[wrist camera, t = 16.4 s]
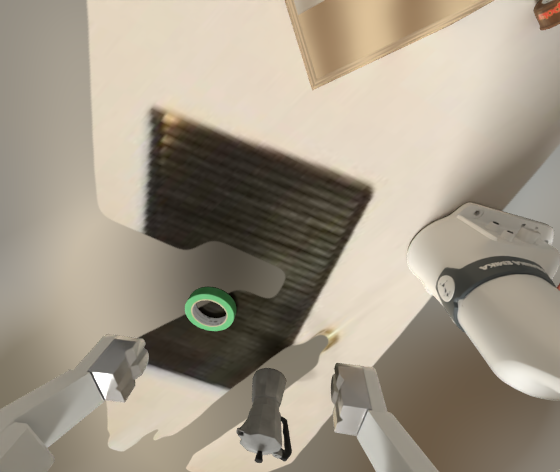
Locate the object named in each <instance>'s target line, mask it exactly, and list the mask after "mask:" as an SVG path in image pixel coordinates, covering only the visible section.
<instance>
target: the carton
mask: <svg viewBox="0 0 560 472" xmlns="http://www.w3.org/2000/svg"><path fill="white" fill-rule="evenodd" d="M492 1H494V0H285V3H286V6H287V9H288V12H289V16H290V19H291V22H292V25H293V29H294V32H295V35H296V38H297V42H298V45H299V48H300V51H301V55H302V58H303V61H304V64H305V68H306V71H307V74H308V77H309V81H310V84H311V87H312V90H314V89H316V88H318V87H320V86H322V85H325V84H327V83H329V82H331V81H333V80H335V79H337V78H339V77H341V76H344V75H346V74H348V73H350V72H352V71H354V70H356V69H358V68H360V67H363V66H365V65H367V64H369V63H371V62H373V61H375V60H377V59H379V58H382V57H384V56H386V55H388V54H390V53H392V52H394V51H396V50H399V49H401V48H403V47H405V46H407V45H409V44H411V43H413V42H415V41H418V40H420V39H422V38H424V37H426V36H428V35H430V34H432V33H434V32H437V31H439V30H441V29H443V28H445V27H447V26H449V25H451V24H453V23H455V22H457V21H459V20H460V19H462V18H464V17H466V16H467V15H469V14H471V13H473V12H475V11H476V10H478V9H480V8H482V7H483V6H485V5H487V4H489V3H491V2H492Z"/></svg>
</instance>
